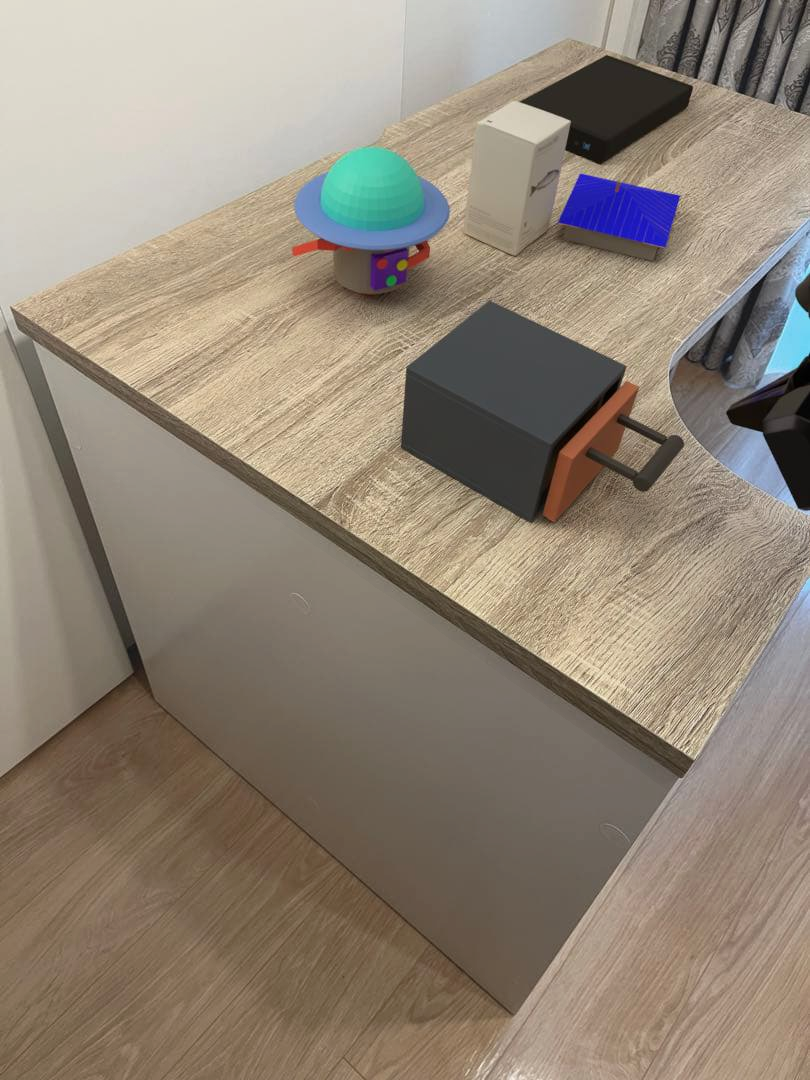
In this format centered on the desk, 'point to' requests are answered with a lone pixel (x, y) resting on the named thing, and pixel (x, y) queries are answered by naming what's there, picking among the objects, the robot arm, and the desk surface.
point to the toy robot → (371, 218)
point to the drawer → (602, 451)
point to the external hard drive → (611, 105)
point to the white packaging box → (514, 176)
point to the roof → (618, 216)
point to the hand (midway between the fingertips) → (730, 415)
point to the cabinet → (501, 403)
